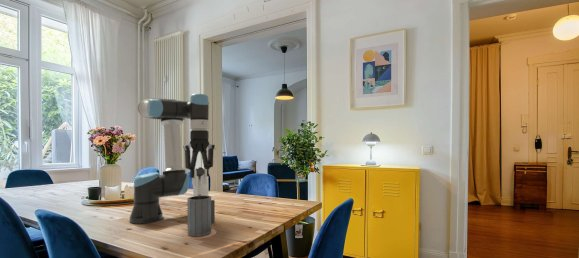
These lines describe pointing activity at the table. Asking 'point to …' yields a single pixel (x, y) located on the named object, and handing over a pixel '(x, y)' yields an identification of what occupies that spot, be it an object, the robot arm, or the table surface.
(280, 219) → the table surface
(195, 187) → the white slotted column
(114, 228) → the table surface
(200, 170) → the plunger
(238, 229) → the table surface
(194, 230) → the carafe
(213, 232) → the trivet
